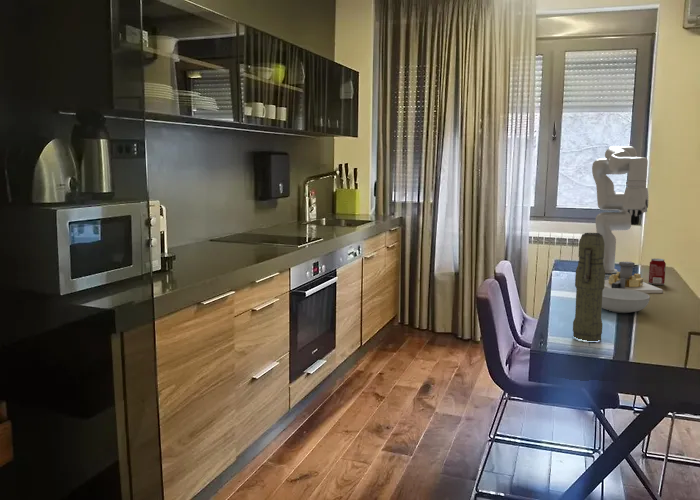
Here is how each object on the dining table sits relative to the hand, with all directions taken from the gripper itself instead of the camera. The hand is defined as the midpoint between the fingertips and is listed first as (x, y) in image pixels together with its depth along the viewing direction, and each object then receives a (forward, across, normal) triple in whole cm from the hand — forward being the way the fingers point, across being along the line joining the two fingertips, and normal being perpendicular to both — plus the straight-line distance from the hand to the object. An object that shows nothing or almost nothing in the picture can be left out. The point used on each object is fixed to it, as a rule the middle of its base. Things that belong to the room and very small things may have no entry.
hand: (634, 224), depth 272 cm
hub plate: (+29, 0, -5) cm, 30 cm away
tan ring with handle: (+27, +2, -10) cm, 29 cm away
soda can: (+29, +4, +14) cm, 33 cm away
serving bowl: (+29, +25, -46) cm, 60 cm away
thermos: (+29, +43, -89) cm, 103 cm away
